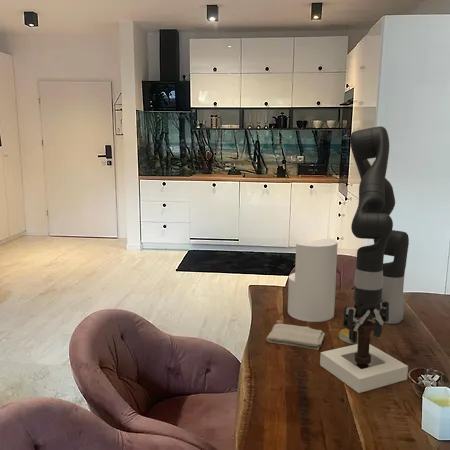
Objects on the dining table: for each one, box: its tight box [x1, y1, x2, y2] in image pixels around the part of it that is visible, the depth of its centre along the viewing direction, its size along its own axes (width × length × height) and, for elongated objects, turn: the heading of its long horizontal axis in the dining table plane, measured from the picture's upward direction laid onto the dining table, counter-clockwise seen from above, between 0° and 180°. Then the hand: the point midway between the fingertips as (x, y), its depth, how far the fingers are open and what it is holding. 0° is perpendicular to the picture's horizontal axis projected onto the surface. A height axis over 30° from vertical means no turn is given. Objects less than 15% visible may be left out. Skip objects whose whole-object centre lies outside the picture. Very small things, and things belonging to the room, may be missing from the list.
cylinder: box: [287, 237, 339, 323], centre depth 179 cm, size 17×17×28 cm
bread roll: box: [338, 328, 358, 345], centre depth 159 cm, size 8×9×4 cm
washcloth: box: [266, 323, 326, 351], centre depth 159 cm, size 12×18×3 cm, turn 71°
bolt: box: [354, 320, 375, 369], centre depth 135 cm, size 6×5×15 cm
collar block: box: [319, 343, 409, 394], centre depth 137 cm, size 17×17×4 cm
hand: (365, 339), depth 135 cm, fingers open, 8 cm apart
